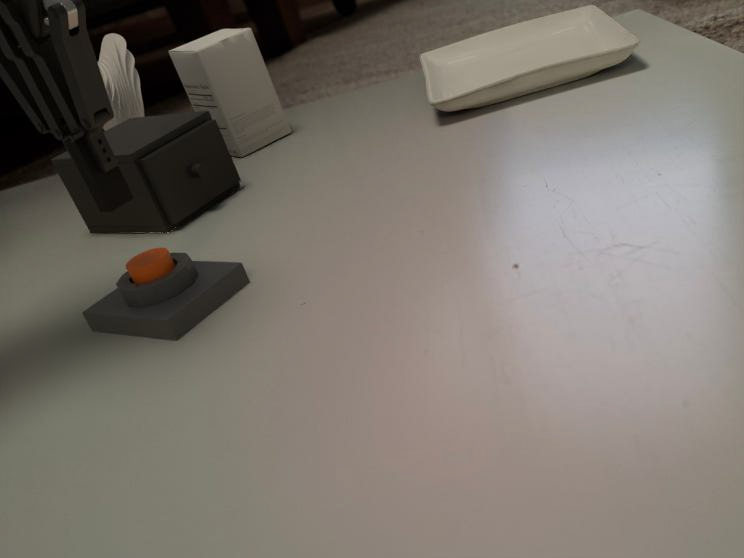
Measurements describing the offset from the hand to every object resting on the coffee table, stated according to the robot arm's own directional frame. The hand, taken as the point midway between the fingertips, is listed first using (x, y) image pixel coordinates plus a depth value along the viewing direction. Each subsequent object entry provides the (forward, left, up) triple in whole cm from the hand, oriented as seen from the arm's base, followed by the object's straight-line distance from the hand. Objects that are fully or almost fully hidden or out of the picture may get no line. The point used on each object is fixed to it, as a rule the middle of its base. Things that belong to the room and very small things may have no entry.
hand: (117, 204), depth 75 cm
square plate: (+24, +57, -11) cm, 63 cm away
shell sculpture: (-35, +48, -11) cm, 60 cm away
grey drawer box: (-17, +26, -11) cm, 33 cm away
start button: (0, 0, -7) cm, 7 cm away
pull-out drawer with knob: (-14, +25, -10) cm, 31 cm away
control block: (0, 0, -11) cm, 11 cm away
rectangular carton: (-15, +47, -11) cm, 50 cm away
